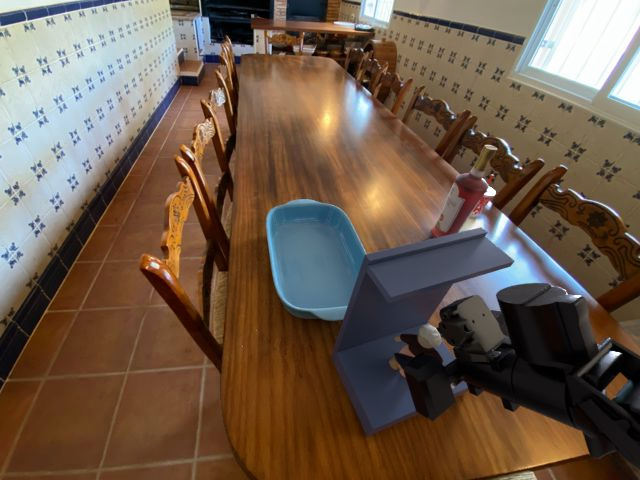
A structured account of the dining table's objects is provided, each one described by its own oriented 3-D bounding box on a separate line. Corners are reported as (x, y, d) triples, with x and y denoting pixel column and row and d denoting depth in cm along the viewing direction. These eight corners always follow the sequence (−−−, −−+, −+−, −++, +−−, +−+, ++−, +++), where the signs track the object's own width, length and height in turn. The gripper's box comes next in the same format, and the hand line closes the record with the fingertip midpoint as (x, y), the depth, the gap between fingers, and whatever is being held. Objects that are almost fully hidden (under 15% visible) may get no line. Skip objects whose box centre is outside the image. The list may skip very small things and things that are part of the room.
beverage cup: (483, 213, 94) (507, 175, 86) (478, 221, 91) (502, 183, 82) (463, 204, 97) (484, 167, 89) (457, 212, 94) (478, 174, 85)
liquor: (424, 228, 86) (467, 139, 69) (448, 230, 87) (498, 141, 69) (433, 246, 81) (483, 154, 63) (459, 248, 81) (516, 156, 63)
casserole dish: (386, 330, 60) (396, 310, 56) (278, 344, 57) (280, 324, 52) (335, 216, 88) (340, 196, 84) (261, 220, 85) (261, 200, 80)
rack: (465, 393, 52) (572, 300, 34) (367, 437, 46) (435, 351, 28) (417, 327, 62) (481, 227, 44) (330, 356, 56) (364, 254, 38)
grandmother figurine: (380, 367, 51) (404, 328, 43) (386, 348, 53) (409, 308, 45) (426, 392, 48) (460, 356, 40) (430, 371, 51) (463, 333, 43)
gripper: (549, 279, 36) (441, 273, 50) (449, 345, 29) (354, 317, 43) (578, 367, 36) (460, 336, 50) (484, 457, 28) (377, 391, 43)
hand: (416, 343), depth 47 cm, fingers open, 9 cm apart
